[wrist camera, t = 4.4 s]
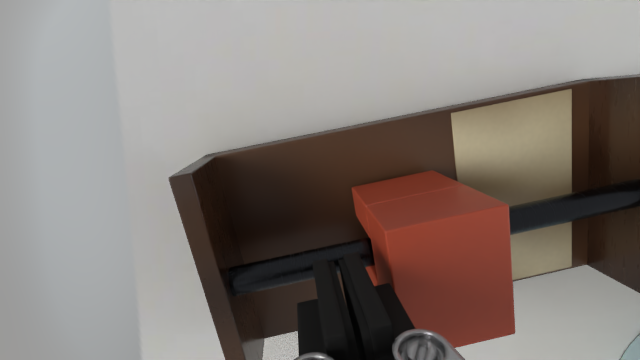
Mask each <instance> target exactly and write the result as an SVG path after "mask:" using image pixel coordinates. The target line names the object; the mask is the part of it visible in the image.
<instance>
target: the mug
mask: <svg viewBox="0 0 640 360" xmlns="http://www.w3.org/2000/svg"><path fill="white" fill-rule="evenodd" d="M621 360H640V335H639V336H638V337H637V338H636V339H635V340H634V341H633V342H632V343H631V344H630V346H629V347H628V348H627V350H626V351H625V353H624V354H623V356H622V358H621Z"/></svg>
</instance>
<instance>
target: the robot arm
mask: <svg viewBox="0 0 640 360" xmlns="http://www.w3.org/2000/svg"><path fill="white" fill-rule="evenodd" d="M338 263H339V269H340V274H341V279H342V285H343V290H344V295H345V299H344V296H343V292H342V289H341V285H340V282H339V278H338V275H337V271H336V268H335V264H334V261H332V262H328V261H327V258H326V259H322V260H317V261H312V264H313V271H314V277H315V284H316V291H317V297H318V299H313V300H309V301H304V302H300V303H297V319H298V344H299V357H297V358H295V359H294V360H465V359H464V358H463V357H462V356H461V355H460V354H459V352H458V351H457V350H456V349H455V348H454V347H453V346H452V345H451V344H450V343H449V342H448V341H447V340H446V339H445V338H444V337H443V336H442V335H440V334H438V333H436V332H434V331H431V330H427V329H416V328H415V327H414V325H413V323H412V321H411V320H410V318H409V316H408V314H407V313H406V311H405V309H404V307H403V306H402V304H401V302H400V300H399V299H398V297H397V295H396V293H395V292H394V290H393V288H392V286H391V285H390V283H386V284H382V285H377V286H374V285H373V283H372V280H371V278H370V276H369V274H368V272H367V270H366V268H365V266H364V264H363V261H362V259H361V257H360V255H359V253H358V252H354V253H350V254H345V255H343V259H341V260H338ZM345 301H346V303H345Z"/></svg>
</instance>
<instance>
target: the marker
mask: <svg viewBox="0 0 640 360" xmlns="http://www.w3.org/2000/svg"><path fill="white" fill-rule="evenodd" d="M352 194H353V200H354V206H355V212H356V216H357V218H358V219H359V221H360V223H361V224H362V226H363V228H364V229H365V231H366V233H367V234H368V236H369V237H370V239H371V243H372V249H373V255H374V261H375V265H374V266H370V267H365V268H366V270H367V272H368V274H369V276H370V278H371V280H372V283H373V285H374V286H377V285H382V284H386V283H390V285H391V286H392V288H393V290H394V292H395V293H396V295H397V297H398V299H399V300H400V302H401V304H402V306H403V307H404V309H405V311H406V313H407V314H408V316H409V318H410V320H411V321H412V323H413V325H414V327H415V328H416V329H427V330H431V331H434V332H436V333H438V334H440V335H442V336H443V337H444V338H445V339H446V340H447V341H448V342H449V343H450V344H451V345H452V346H453V347H454V348H456V347H461V346H465V345H469V344H473V343H477V342H482V341H486V340H490V339H494V338H499V337H503V336H507V335H511V334H514V333H515V319H514V299H513V279H512V259H511V238H510V218H509V205H508V204H506V203H504V202H501V201H499V200H497V199H495V198H493V197H491V196H488V195H486V194H484V193H482V192H480V191H477V190H475V189H473V188H471V187H469V186H466V185H464V184H462V183H459V182H457V181H455V180H453V179H451V178H448V177H446V176H444V175H442V174H440V173H438V172H435V171H433V170H431V171H426V172H422V173H417V174H412V175H407V176H403V177H398V178H393V179H388V180H384V181H379V182H374V183H369V184H365V185H360V186H355V187H352Z"/></svg>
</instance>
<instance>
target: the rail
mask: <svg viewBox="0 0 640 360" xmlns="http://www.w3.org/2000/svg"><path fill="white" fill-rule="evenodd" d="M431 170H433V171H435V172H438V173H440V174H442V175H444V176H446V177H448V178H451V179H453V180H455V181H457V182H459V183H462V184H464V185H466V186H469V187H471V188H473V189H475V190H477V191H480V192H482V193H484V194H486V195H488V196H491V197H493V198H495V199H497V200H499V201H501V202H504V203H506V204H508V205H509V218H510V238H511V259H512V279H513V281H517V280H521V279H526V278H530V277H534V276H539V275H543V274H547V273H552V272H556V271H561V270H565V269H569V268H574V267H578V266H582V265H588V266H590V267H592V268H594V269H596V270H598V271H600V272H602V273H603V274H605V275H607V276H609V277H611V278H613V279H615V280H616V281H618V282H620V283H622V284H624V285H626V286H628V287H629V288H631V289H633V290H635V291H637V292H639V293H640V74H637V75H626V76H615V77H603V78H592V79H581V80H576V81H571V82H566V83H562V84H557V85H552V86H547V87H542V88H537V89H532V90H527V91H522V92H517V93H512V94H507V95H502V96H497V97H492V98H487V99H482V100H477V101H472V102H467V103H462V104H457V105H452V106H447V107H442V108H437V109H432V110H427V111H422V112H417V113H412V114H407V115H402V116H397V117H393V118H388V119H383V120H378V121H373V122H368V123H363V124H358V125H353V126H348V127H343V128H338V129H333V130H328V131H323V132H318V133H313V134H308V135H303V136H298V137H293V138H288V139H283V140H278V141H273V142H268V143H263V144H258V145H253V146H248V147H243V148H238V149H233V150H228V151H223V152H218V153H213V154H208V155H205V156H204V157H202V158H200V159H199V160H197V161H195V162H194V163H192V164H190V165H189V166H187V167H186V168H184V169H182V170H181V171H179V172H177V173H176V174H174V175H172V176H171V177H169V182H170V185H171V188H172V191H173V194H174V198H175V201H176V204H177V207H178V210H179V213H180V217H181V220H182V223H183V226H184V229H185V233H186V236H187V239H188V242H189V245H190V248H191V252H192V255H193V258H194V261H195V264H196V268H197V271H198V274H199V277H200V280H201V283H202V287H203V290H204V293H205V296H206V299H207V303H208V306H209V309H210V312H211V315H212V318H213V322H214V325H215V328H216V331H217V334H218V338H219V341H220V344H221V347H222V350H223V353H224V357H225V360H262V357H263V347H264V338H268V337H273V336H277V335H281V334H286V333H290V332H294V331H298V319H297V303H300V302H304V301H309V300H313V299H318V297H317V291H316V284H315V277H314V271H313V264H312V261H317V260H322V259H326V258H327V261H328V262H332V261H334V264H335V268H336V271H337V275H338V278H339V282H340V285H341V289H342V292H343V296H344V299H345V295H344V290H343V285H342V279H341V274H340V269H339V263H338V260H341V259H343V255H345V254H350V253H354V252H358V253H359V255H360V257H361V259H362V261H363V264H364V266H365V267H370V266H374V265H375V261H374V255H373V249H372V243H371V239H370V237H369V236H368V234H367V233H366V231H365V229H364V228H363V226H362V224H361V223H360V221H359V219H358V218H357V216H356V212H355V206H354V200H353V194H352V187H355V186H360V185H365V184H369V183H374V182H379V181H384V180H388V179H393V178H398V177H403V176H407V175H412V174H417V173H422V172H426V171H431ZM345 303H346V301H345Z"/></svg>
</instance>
